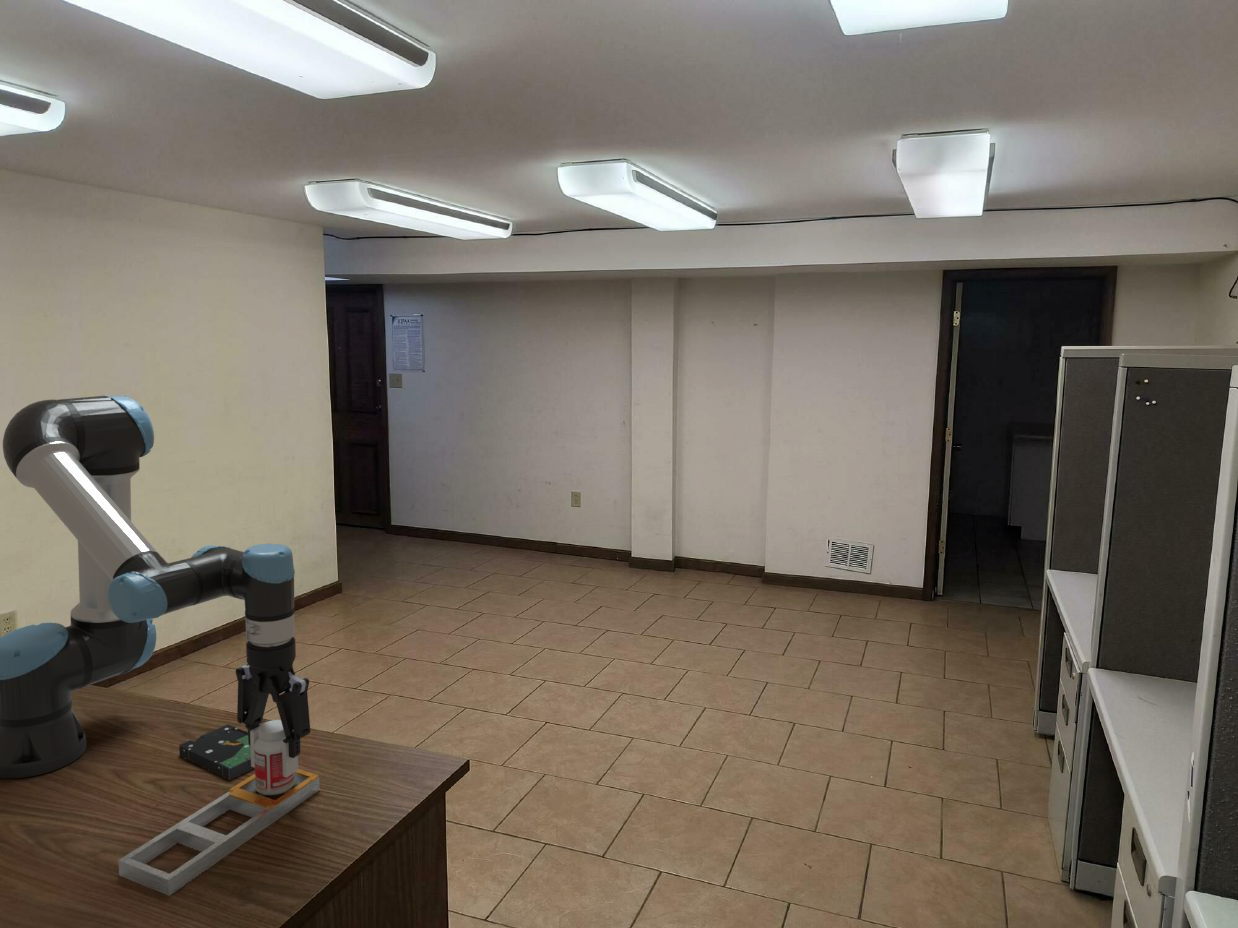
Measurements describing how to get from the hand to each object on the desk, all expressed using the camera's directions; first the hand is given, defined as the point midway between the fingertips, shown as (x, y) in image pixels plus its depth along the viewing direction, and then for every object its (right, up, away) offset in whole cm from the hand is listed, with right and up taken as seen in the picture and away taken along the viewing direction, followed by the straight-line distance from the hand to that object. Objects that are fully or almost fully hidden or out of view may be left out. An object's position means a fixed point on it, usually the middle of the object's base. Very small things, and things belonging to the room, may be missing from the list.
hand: (274, 767), depth 142 cm
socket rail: (-4, -7, -8) cm, 11 cm away
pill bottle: (0, -4, +1) cm, 4 cm away
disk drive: (-14, -3, +13) cm, 20 cm away
